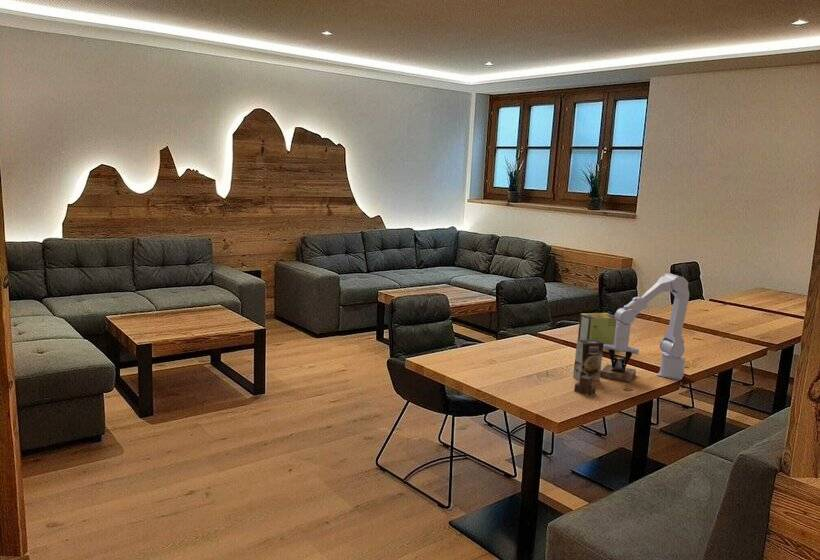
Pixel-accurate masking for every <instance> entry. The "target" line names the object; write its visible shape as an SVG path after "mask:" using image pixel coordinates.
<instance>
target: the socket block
mask: <svg viewBox="0 0 820 560" xmlns="http://www.w3.org/2000/svg"><path fill="white" fill-rule="evenodd" d="M613 369H614V368H612V364H610V363H609V364H608V363H607V364H606V365H605V366H604V367H603V368H601V372H600V378H603V377H605V378H604V379H608V378H610V379H609V380H613V379H615V380H614V381H618V380H619V381H620V382H624V383H631V382H632V380H633V379H634V378H635V377H636V372H637V369H633V368H629V367H626V368H625V370H623V373H620V372H615V371H613ZM619 381H618V382H619Z"/></svg>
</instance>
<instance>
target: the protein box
mask: <svg viewBox="0 0 820 560" xmlns="http://www.w3.org/2000/svg"><path fill="white" fill-rule="evenodd" d="M615 330H616V319H615V317H614V315H613V314H610V313H609V312H592V313H591V312H590V313H586V312H585V313H580V314H579V324H578V335H577V340H597V341H600V342H602V343H604V344H606V345H614V340H615Z"/></svg>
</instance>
